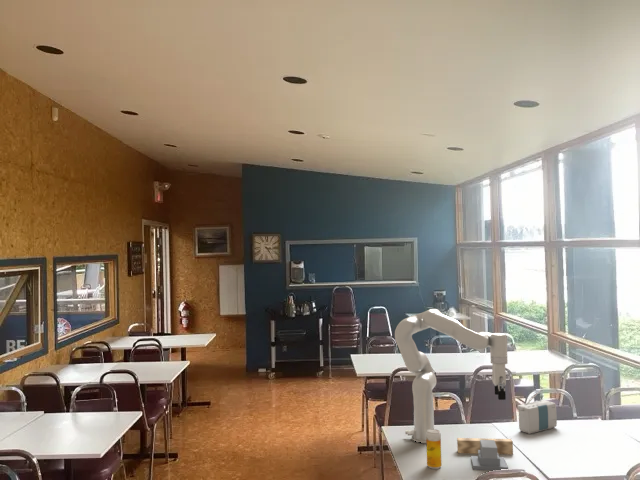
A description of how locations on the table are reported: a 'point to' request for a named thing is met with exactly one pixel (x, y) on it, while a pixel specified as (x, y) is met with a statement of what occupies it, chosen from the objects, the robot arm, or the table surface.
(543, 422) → the stereo radio cassette player
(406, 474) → the table surface
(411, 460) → the table surface
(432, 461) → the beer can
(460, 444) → the tan long bar
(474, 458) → the fulcrum stand
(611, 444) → the table surface
